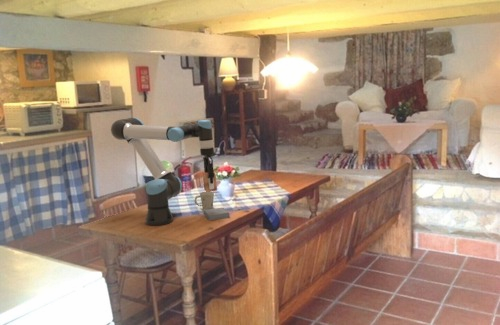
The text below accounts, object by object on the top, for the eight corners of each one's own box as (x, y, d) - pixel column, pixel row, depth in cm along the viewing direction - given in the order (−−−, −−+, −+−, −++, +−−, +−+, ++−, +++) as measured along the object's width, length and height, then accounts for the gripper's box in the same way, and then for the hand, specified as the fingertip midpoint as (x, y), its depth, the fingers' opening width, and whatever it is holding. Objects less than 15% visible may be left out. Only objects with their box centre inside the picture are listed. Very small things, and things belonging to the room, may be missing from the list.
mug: (212, 210, 286) (211, 194, 284) (192, 210, 289) (191, 194, 287) (216, 207, 294) (215, 191, 293) (196, 206, 297) (195, 191, 295)
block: (206, 192, 266) (205, 174, 264) (204, 189, 271) (202, 172, 270) (217, 190, 267) (215, 173, 266) (214, 188, 273) (212, 171, 271)
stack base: (209, 220, 267) (209, 215, 267) (203, 215, 278) (203, 210, 278) (229, 217, 271) (229, 212, 271) (223, 212, 282) (223, 207, 282)
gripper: (217, 148, 257) (221, 190, 261) (209, 145, 275) (212, 183, 279) (203, 150, 255) (207, 192, 259) (196, 146, 273) (200, 185, 277)
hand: (210, 187), depth 269 cm, fingers closed on block, 6 cm apart
